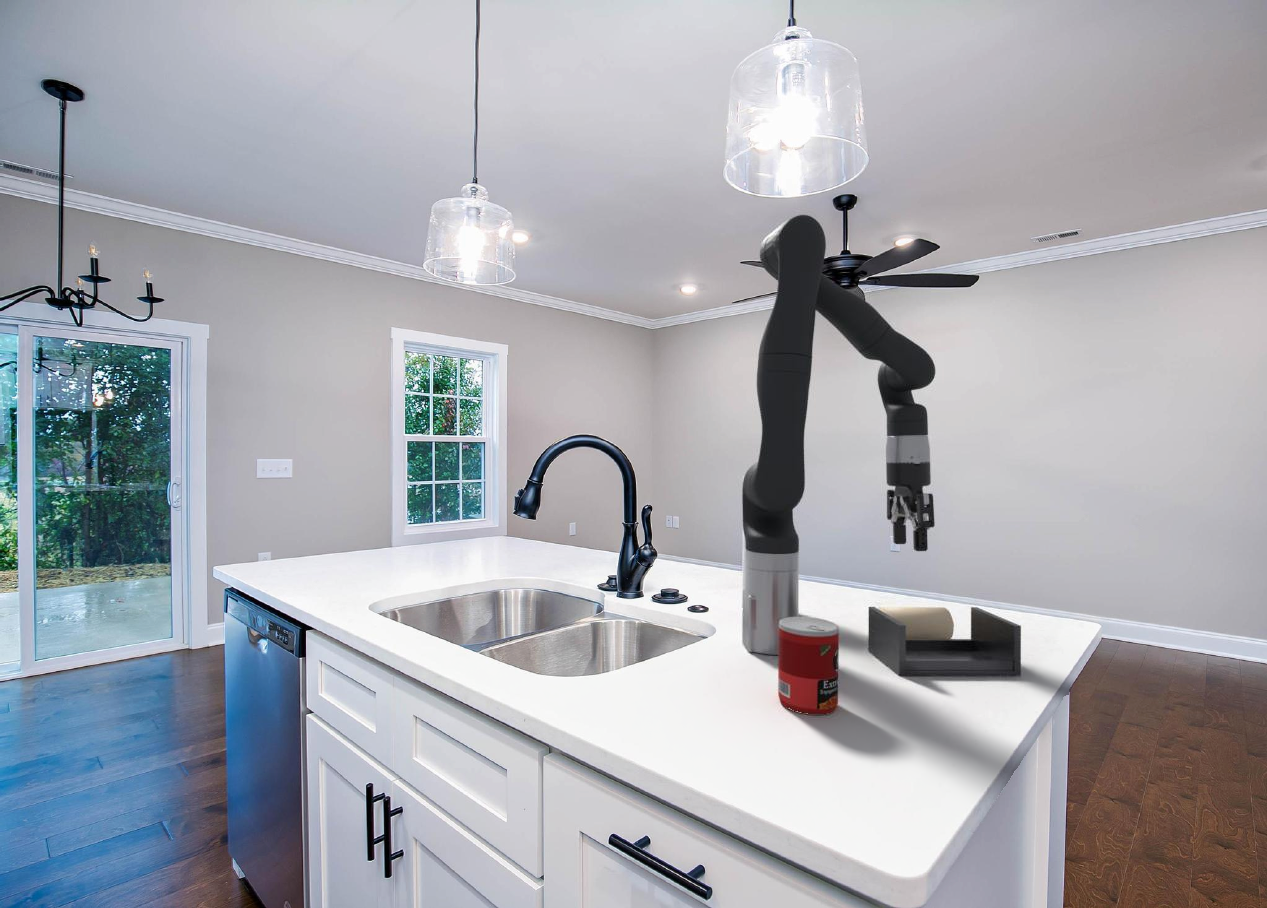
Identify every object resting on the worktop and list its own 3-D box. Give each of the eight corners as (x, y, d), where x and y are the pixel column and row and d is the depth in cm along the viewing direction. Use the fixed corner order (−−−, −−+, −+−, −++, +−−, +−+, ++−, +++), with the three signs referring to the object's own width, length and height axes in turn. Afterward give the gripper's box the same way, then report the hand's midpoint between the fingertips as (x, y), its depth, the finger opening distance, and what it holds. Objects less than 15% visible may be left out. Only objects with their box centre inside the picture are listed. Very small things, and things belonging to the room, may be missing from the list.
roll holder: (899, 676, 95) (899, 625, 95) (868, 651, 107) (868, 606, 107) (1020, 676, 96) (1020, 626, 96) (976, 652, 108) (976, 607, 108)
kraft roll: (881, 645, 112) (883, 613, 112) (868, 632, 118) (870, 602, 118) (958, 645, 113) (960, 614, 112) (941, 633, 119) (943, 602, 118)
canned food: (830, 721, 79) (830, 635, 79) (769, 707, 83) (770, 625, 83) (844, 701, 85) (845, 621, 85) (787, 689, 89) (788, 613, 89)
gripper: (872, 460, 122) (874, 542, 122) (904, 461, 108) (907, 553, 108) (910, 459, 122) (912, 541, 122) (947, 460, 108) (949, 552, 108)
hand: (909, 547), depth 115 cm, fingers open, 8 cm apart
